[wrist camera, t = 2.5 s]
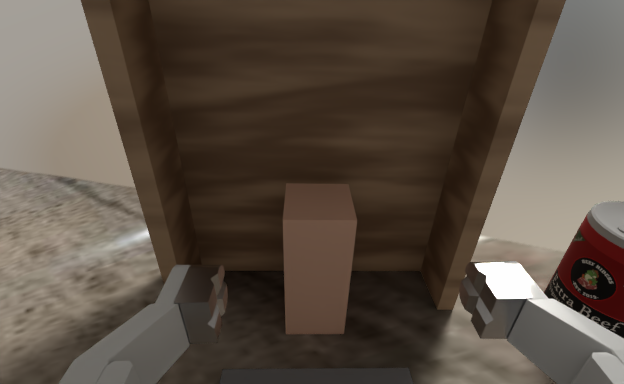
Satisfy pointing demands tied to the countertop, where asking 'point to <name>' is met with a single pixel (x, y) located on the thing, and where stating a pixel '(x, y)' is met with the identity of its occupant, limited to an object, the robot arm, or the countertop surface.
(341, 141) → the shelf
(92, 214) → the countertop surface
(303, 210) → the block
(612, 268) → the canned food
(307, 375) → the mat
